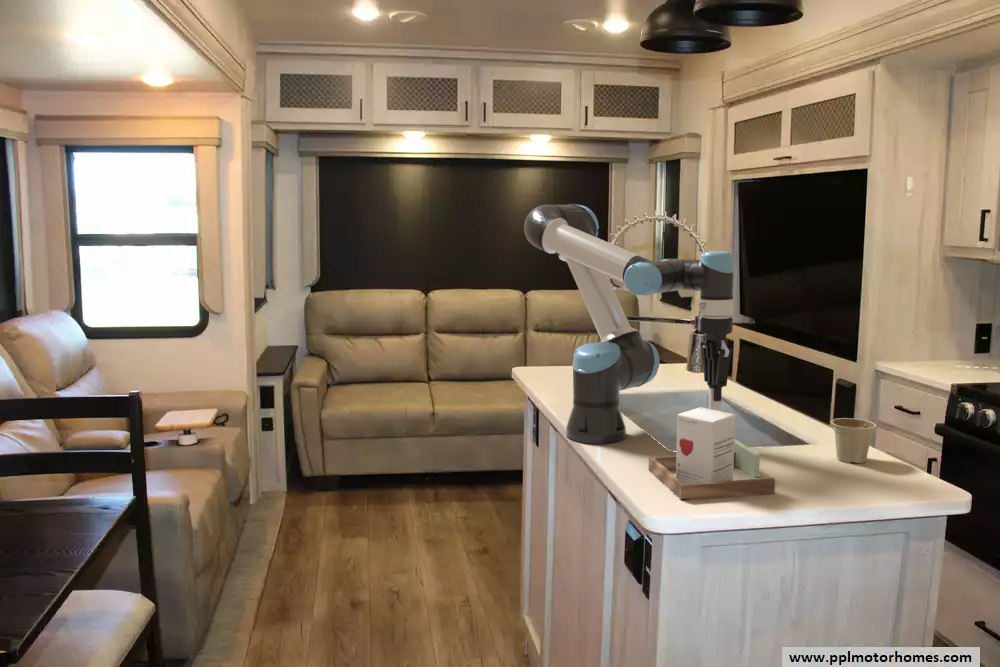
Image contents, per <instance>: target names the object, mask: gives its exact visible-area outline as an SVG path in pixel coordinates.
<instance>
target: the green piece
mask: <svg viewBox="0 0 1000 667" xmlns="http://www.w3.org/2000/svg"><path fill="white" fill-rule="evenodd" d="M734 452H735V453H736V463H735V467H738V468H739V469H741V470H742V471H743V472H744V473H747V474H748V475H749V476H750V477H752V478H753V479H756V478H759V477H760V461H761V460H760V459H761V458H760V456H761V455H760V454H759V453H758V452H756V451H755V450H754V449H752V448H750V447H748V446H746V445H745V444H743V443H742V442H740V441H739V440H738V439H735V444H734Z"/></svg>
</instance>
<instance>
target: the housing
mask: <svg viewBox="0 0 1000 667" xmlns="http://www.w3.org/2000/svg"><path fill="white" fill-rule="evenodd" d="M735 463H736V453H735V452H734V467H736V465H735ZM648 471H649V472H650V473H651V474H652V475H653V476H654V477H655V478H656V479H657V480H659V481H660V482H661V483H662V484H663V485H664V484H665V485H666V486H667V487H668V488H669V489H670V490H671V491H672V492H674V493H675V494H676V495H677V496H678V497H679V498H680V499H692V500H704V499H706V498H707V499H716V498H717V499H719V498H731V497H732V498H734V497H746V496H761V495H762V496H763V495H775V493H776V479H775V478H774V477H768V478H765V477H764V478H753V479H739V480H738V479H737V480H734V479H733V481H719V482H704V483H689V484H684V483H682V482H681V481H680V480H679V479H678V478H677V477H676V475H675V474H674V473H672V472H671V471H676V455H662V456H660V455H659V456H648ZM665 485H664V486H665ZM666 486H665V487H666ZM667 487H666V488H667ZM668 488H667V489H668ZM669 489H668V490H669ZM670 490H669V491H670ZM671 491H670V492H671ZM672 492H671V493H672ZM675 494H674V495H675ZM676 495H675V496H676ZM677 496H676V497H677ZM678 497H677V498H678ZM679 498H678V499H679ZM680 499H679V500H680ZM707 499H706V500H707Z"/></svg>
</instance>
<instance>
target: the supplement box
mask: <svg viewBox="0 0 1000 667" xmlns="http://www.w3.org/2000/svg"><path fill="white" fill-rule="evenodd" d="M676 419H677V420H676V422H677V424H676V425H677V426H676V470H675V476H676V477H677V478H678V479H679V480H680V481H681V482H682V483H684V484H689V483H704V482H719V481H734V467H735V466H734V444H735V440H736V422H737V421H736V420H737V415H736V414H735V413H730V412H726V411H722V410H721V411H717V410H712V409H708V407H707V408H706V407H703V406H701V407H700V406H699V407H697V408H694V409H690V410H687V411H684V412H683V411H682V412H680V413H678V414H677V418H676Z"/></svg>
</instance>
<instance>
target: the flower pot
mask: <svg viewBox="0 0 1000 667" xmlns="http://www.w3.org/2000/svg"><path fill="white" fill-rule="evenodd" d="M830 422H831V423H830V424H832V429H833V431H834V438H835V450H836V451H835V452H836V453H835V454H836V458H837V460H838V461H841V462H844V463H855V464H862V463H866V461H867V460H868V459H867V458H868V453H869V448H870V444H871V441H872V440H871V439H872V436H873V434H874V431H875V429H876V428H877V424H876V423H875V422H872V421H869V420H866V419H859V418H852V417H851V418H849V417H842V418H841V417H840V418H834V419H832V420H831V421H830Z"/></svg>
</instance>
